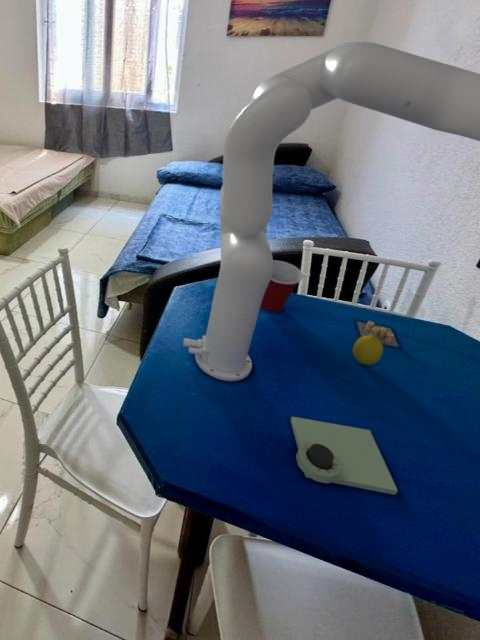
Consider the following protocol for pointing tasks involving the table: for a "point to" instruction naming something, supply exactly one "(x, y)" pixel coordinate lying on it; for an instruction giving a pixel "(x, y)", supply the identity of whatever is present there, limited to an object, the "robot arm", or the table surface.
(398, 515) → the table surface
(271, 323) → the table surface
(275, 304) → the plastic cup
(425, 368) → the table surface
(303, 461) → the scale
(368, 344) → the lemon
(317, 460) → the button
